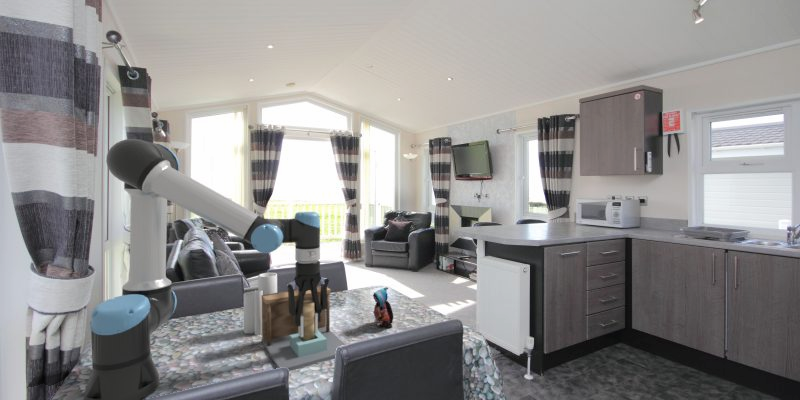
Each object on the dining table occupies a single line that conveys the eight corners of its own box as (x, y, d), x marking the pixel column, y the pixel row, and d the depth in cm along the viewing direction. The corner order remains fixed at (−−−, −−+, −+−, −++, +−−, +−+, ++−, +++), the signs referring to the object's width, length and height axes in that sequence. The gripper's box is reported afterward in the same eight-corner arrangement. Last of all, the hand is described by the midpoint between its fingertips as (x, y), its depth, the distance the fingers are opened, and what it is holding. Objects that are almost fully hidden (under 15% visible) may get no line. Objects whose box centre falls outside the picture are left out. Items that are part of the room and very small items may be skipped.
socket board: (280, 373, 100) (280, 357, 100) (261, 341, 120) (261, 328, 120) (351, 353, 112) (351, 339, 112) (323, 327, 132) (323, 315, 132)
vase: (274, 323, 136) (274, 271, 135) (279, 330, 130) (279, 275, 129) (242, 330, 129) (242, 275, 129) (246, 337, 123) (246, 280, 123)
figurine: (367, 323, 136) (367, 284, 136) (383, 319, 140) (383, 282, 140) (379, 332, 128) (380, 291, 127) (396, 328, 132) (396, 288, 131)
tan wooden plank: (266, 349, 114) (266, 300, 114) (262, 342, 120) (261, 295, 119) (331, 334, 126) (331, 289, 126) (324, 328, 132) (324, 285, 131)
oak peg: (304, 349, 111) (303, 305, 110) (300, 345, 114) (299, 301, 113) (316, 346, 113) (316, 303, 112) (312, 342, 116) (312, 299, 116)
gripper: (283, 266, 105) (284, 344, 106) (337, 260, 114) (337, 332, 115) (277, 261, 111) (277, 335, 112) (328, 256, 120) (328, 324, 121)
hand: (308, 333), depth 113 cm, fingers closed on oak peg, 4 cm apart
